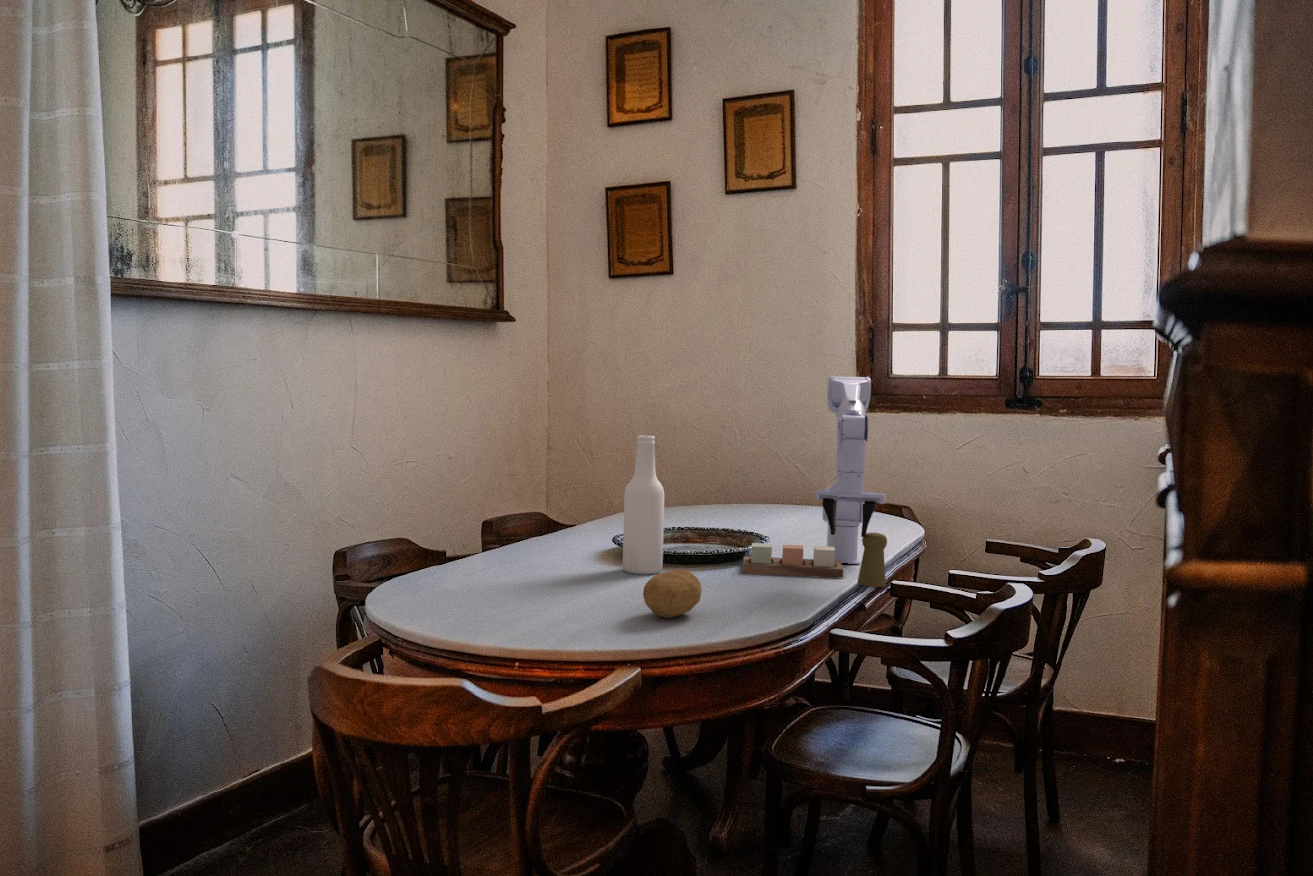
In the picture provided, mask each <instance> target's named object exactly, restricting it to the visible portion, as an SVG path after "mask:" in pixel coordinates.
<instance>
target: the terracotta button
mask: <svg viewBox="0 0 1313 876" xmlns="http://www.w3.org/2000/svg"><path fill="white" fill-rule="evenodd" d="M781 556H782V557H781V558H782V564H785V565H803V559H804V545H801V544H800V545H799V544H782V555H781Z"/></svg>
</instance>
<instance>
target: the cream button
mask: <svg viewBox="0 0 1313 876" xmlns="http://www.w3.org/2000/svg"><path fill="white" fill-rule="evenodd" d="M812 559H813V564H814V566H827V567H835V548H834V547H827V545H825V546H824V545H821V546H820V545H813V558H812Z"/></svg>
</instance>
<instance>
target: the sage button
mask: <svg viewBox="0 0 1313 876" xmlns="http://www.w3.org/2000/svg"><path fill="white" fill-rule="evenodd" d="M772 548H773V544H772V543H759V542H752V543H751V550H750V551H751V552H750V555H751V563H764V564H771V557H772V556H773V555H772V554H773V553H772V551H773V549H772Z"/></svg>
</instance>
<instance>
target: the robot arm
mask: <svg viewBox="0 0 1313 876" xmlns="http://www.w3.org/2000/svg"><path fill="white" fill-rule="evenodd" d="M871 391H872V380H871V378H870V376H866V377H865V376H835V375H834V376H833V375H829V377H828V378H827V391H826V392H827V395H826V396H827V399H826V400H827V407H828V411H829V412H831V413H833V414H835V417H836V462H835V463H836V464H835V466H836V467H835V469H836V470H835V481H834V482H833V483H832V484H830V485H829V486H827V487H826V488H825V489H816V490H815V491H814V492H815V493H814V500H817V501H819V500H822V502H821V505H822V520H823V521H824V522H826V523H827V532H826V533H827V534H826V536H827V537H826V547H834V548H835V560H837V561H841V563H848V564H847V565H861V562H860V560H859V557H858V549H859V548H858V547H859V546H858V544H859V527H860V524H861V526H862V527H861V534H860V535H861V537H862V538H863V537H865V536H866V533H868V532H867V530H868V527H869V524H870V520H871V518H872V516H873V514H874V512H875V510H876V508H877V506H878V504H880V505H884V504H885V503H886V494H885V493H879V492H878V493H877V492H867V491H865V472H866V450H867V449H866V448H867V444H866V443H868V440H869V434H870V433H869V432H870V420H869V416H868V414H866V412H867V411H868V409H869V404H870V401H871V395H872V394H871V393H872V392H871Z"/></svg>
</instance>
